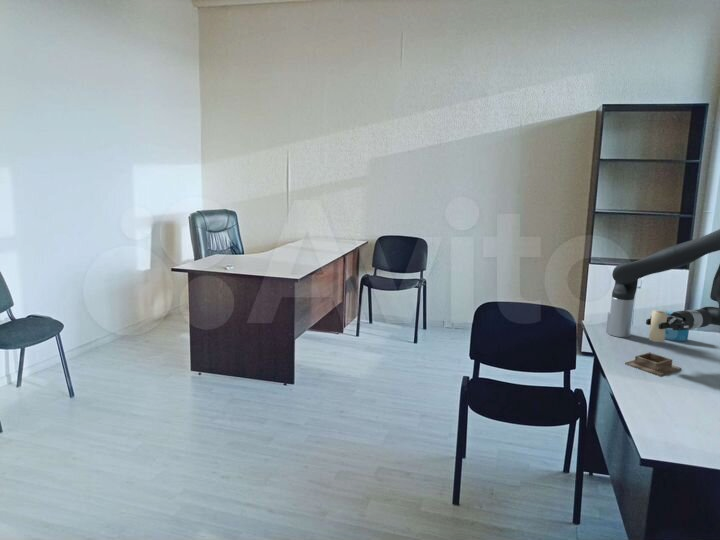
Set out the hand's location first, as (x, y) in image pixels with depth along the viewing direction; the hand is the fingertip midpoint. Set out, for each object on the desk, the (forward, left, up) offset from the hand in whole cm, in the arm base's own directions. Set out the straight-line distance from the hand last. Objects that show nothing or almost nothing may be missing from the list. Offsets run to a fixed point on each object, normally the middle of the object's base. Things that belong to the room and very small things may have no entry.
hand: (653, 324), depth 211 cm
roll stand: (0, +2, -17) cm, 18 cm away
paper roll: (0, +3, -6) cm, 7 cm away
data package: (-17, +43, -18) cm, 50 cm away
